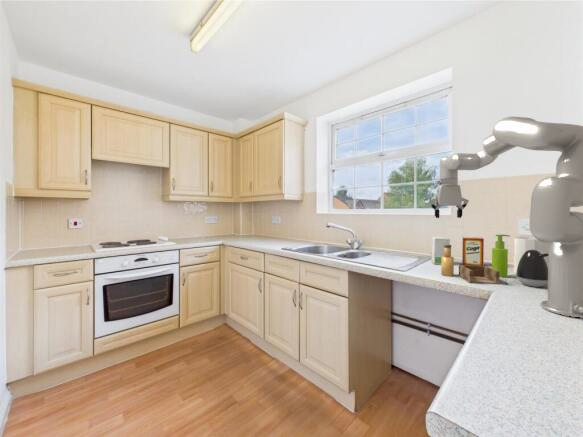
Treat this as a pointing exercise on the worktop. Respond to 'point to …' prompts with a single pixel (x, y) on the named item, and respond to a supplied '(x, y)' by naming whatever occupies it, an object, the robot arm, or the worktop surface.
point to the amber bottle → (447, 262)
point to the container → (528, 248)
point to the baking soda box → (472, 251)
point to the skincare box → (438, 248)
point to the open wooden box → (479, 274)
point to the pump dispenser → (533, 269)
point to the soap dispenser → (500, 257)
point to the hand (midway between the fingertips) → (448, 217)
